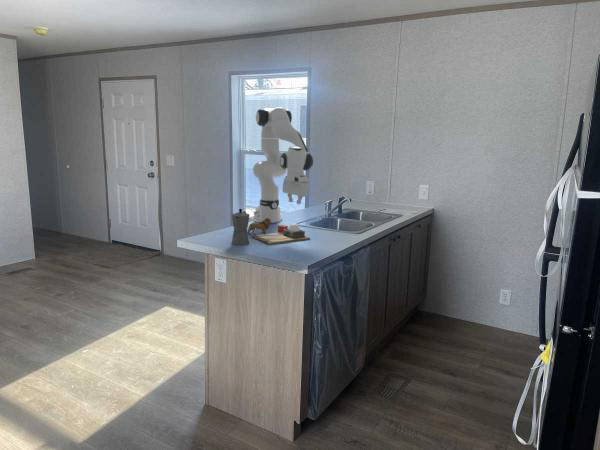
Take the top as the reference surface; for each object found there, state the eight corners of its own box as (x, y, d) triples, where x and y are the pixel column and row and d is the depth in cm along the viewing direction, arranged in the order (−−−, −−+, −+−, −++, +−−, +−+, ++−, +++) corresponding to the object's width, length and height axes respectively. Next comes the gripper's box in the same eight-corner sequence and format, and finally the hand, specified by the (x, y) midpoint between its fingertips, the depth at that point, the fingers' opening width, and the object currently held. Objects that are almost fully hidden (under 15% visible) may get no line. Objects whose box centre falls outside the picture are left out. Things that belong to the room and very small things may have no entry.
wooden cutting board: (251, 237, 241) (251, 230, 240) (290, 232, 255) (290, 225, 254) (269, 245, 225) (269, 237, 225) (310, 239, 240) (310, 232, 239)
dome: (285, 232, 244) (286, 223, 243) (295, 231, 248) (295, 221, 247) (292, 235, 239) (292, 225, 238) (302, 233, 243) (302, 224, 242)
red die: (277, 232, 255) (277, 225, 254) (282, 231, 258) (282, 224, 257) (283, 233, 252) (283, 226, 251) (287, 232, 256) (287, 225, 255)
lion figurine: (268, 232, 255) (269, 217, 253) (272, 234, 250) (272, 218, 248) (244, 234, 249) (244, 218, 247) (247, 236, 244) (247, 220, 242)
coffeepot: (245, 246, 221) (245, 211, 217) (227, 245, 222) (227, 210, 219) (253, 239, 236) (253, 206, 232) (236, 238, 237) (236, 205, 234)
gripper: (279, 175, 244) (279, 200, 247) (301, 179, 228) (300, 205, 230) (289, 175, 248) (289, 199, 250) (311, 178, 231) (310, 205, 234)
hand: (294, 202), depth 240 cm, fingers open, 6 cm apart
